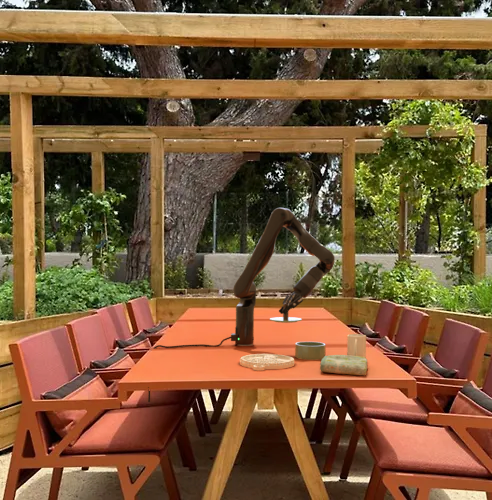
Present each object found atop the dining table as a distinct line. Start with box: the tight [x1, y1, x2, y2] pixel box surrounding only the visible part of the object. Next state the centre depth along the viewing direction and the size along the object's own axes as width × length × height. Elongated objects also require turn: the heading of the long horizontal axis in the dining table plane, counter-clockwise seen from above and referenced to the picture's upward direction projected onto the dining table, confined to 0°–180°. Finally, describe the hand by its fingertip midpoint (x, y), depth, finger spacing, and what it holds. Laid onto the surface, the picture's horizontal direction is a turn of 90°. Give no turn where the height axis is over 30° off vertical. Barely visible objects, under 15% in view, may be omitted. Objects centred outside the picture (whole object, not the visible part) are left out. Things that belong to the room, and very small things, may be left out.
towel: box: [319, 354, 368, 376], centre depth 245 cm, size 18×21×5 cm
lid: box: [269, 303, 303, 324], centre depth 277 cm, size 15×15×8 cm
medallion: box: [239, 353, 296, 372], centre depth 256 cm, size 24×27×2 cm
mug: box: [346, 333, 367, 359], centre depth 261 cm, size 12×8×12 cm
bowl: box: [294, 341, 327, 361], centre depth 273 cm, size 14×14×6 cm
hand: (281, 312), depth 276 cm, fingers closed on lid, 2 cm apart
